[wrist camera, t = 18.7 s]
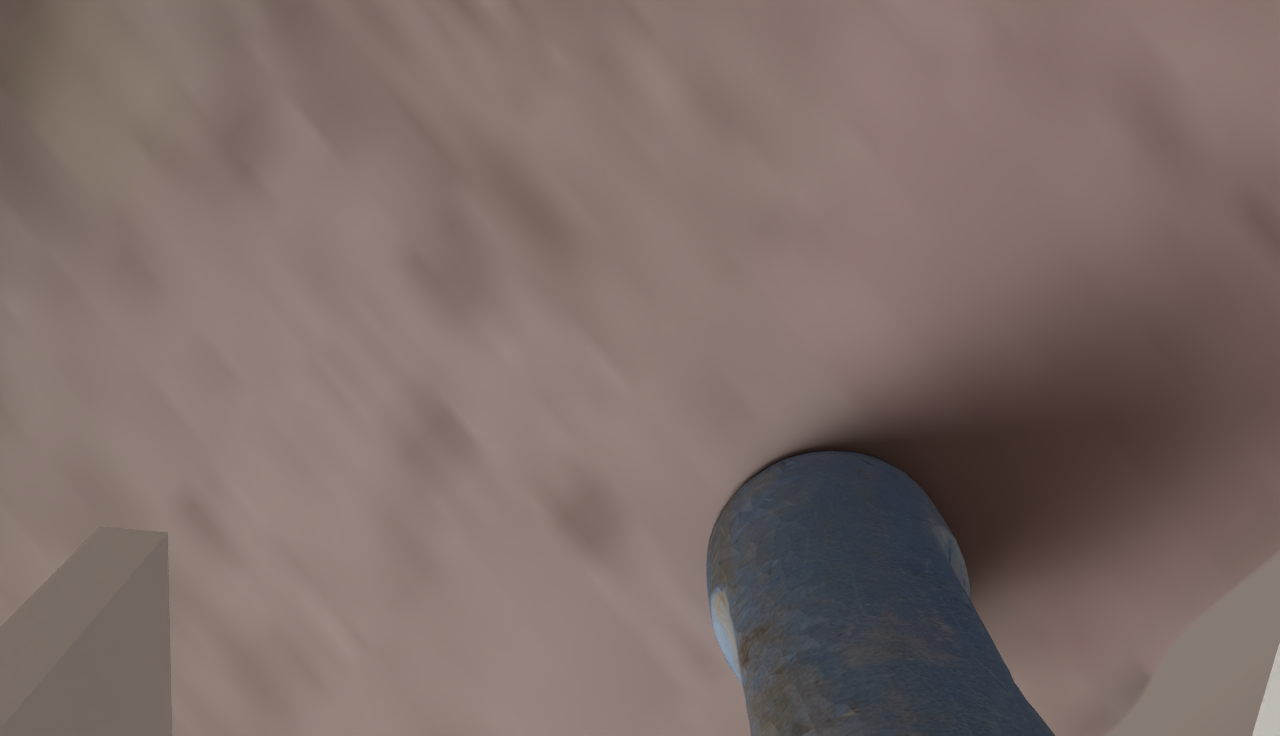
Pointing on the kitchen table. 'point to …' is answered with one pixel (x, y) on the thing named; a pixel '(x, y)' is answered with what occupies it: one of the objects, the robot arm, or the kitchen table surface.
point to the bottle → (853, 608)
